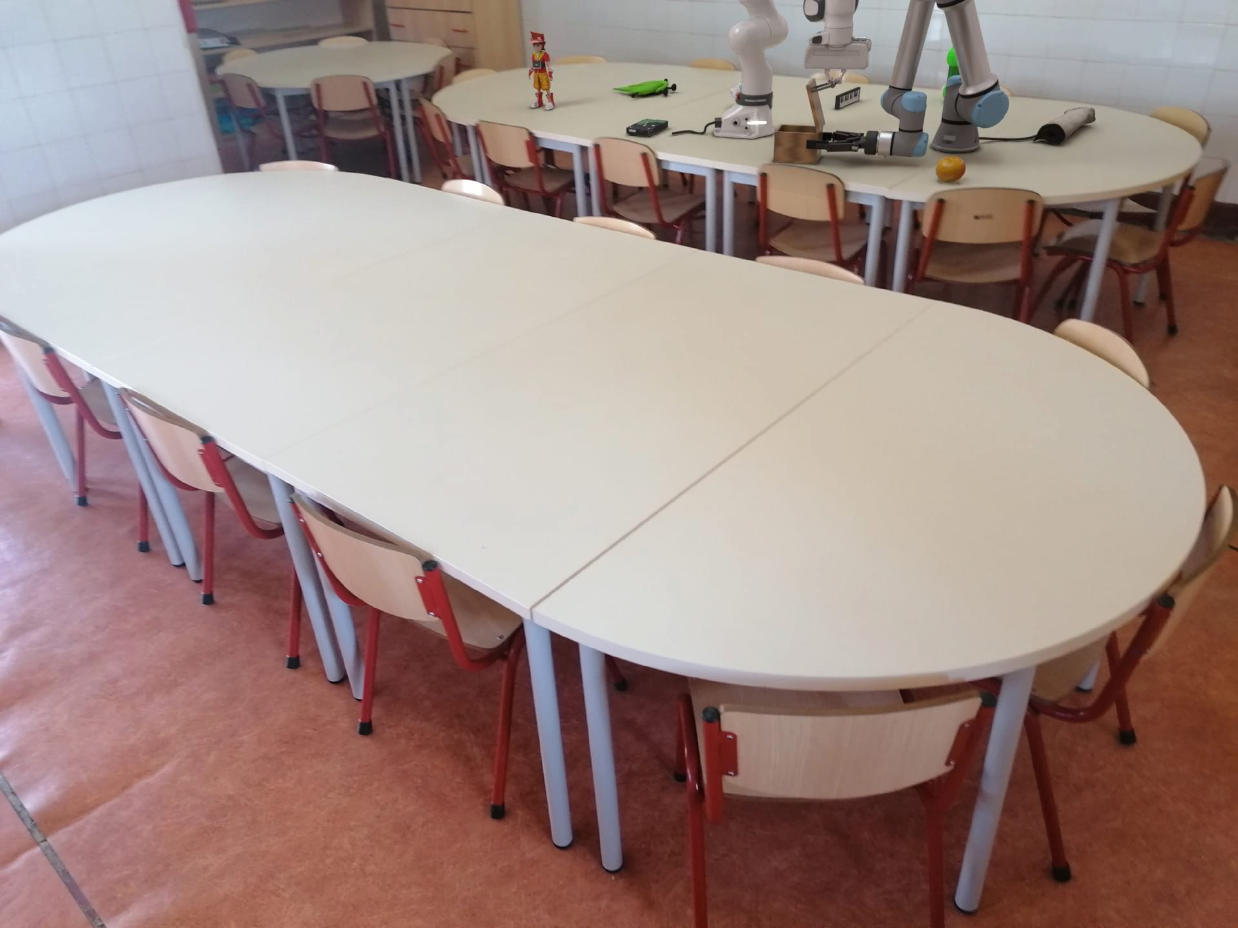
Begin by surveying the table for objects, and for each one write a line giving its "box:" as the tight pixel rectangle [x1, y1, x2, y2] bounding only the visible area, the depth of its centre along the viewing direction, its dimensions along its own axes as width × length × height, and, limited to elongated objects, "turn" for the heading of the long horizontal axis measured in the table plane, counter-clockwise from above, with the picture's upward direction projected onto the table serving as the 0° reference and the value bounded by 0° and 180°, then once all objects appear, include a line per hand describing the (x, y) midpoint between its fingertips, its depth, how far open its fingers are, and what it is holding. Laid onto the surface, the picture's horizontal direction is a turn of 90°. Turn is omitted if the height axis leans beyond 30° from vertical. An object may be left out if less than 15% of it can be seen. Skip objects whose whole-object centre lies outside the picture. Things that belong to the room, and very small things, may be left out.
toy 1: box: [527, 31, 556, 111], centre depth 374 cm, size 12×9×30 cm
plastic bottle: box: [942, 46, 960, 98], centre depth 348 cm, size 10×10×25 cm
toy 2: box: [612, 78, 677, 99], centre depth 396 cm, size 28×5×30 cm
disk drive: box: [625, 118, 669, 137], centre depth 342 cm, size 10×3×15 cm
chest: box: [772, 123, 824, 165], centre depth 301 cm, size 14×10×10 cm, turn 69°
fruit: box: [935, 155, 967, 183], centre depth 275 cm, size 8×8×8 cm
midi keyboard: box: [834, 86, 861, 110], centre depth 359 cm, size 18×1×5 cm, turn 138°
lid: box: [805, 78, 837, 132], centre depth 291 cm, size 15×10×9 cm
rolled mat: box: [1032, 106, 1097, 146], centre depth 310 cm, size 30×9×10 cm
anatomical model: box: [729, 81, 742, 102], centre depth 363 cm, size 15×10×10 cm
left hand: (834, 83), depth 287 cm, fingers closed on lid, 2 cm apart
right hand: (809, 140), depth 299 cm, fingers closed on chest, 10 cm apart
